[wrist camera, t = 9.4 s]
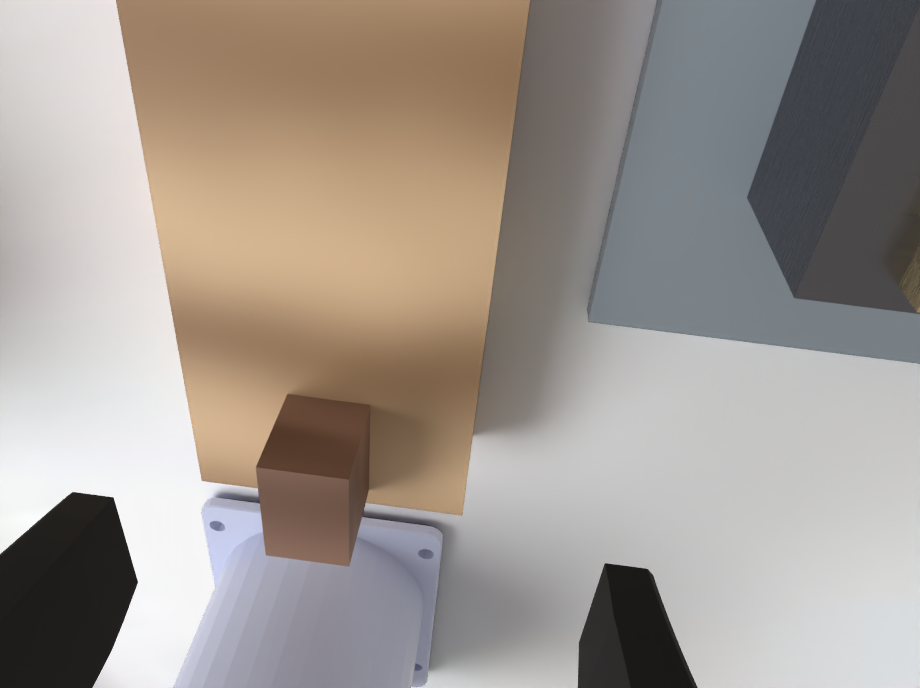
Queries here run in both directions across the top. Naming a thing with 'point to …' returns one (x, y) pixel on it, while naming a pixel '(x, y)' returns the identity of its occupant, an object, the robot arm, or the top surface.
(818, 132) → the lever cap
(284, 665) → the robot arm
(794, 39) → the slate mat
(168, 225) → the hand plane
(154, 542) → the top surface
